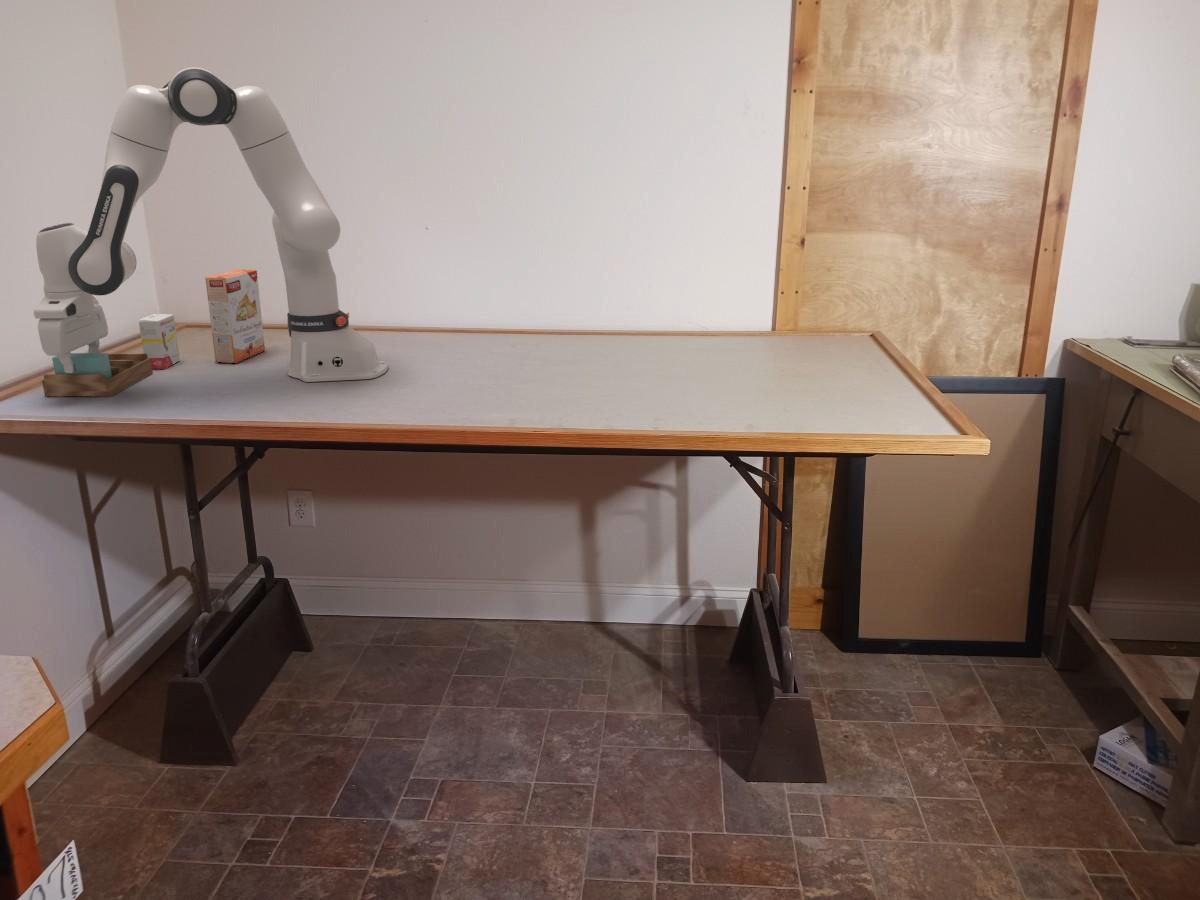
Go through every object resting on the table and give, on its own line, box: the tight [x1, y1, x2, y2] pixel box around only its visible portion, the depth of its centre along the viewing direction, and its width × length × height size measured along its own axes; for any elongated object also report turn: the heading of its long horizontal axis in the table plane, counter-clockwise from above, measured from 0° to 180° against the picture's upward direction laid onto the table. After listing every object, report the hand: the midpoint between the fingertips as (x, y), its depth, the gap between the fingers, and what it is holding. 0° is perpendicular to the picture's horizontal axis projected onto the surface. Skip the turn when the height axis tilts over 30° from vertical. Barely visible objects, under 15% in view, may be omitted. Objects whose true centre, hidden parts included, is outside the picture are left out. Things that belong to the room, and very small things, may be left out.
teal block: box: [51, 352, 112, 380], centre depth 210 cm, size 4×10×7 cm, turn 89°
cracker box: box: [204, 268, 266, 364], centre depth 238 cm, size 14×6×21 cm, turn 168°
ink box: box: [138, 313, 181, 370], centre depth 232 cm, size 9×5×12 cm, turn 177°
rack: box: [41, 352, 154, 398], centre depth 216 cm, size 14×20×5 cm
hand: (82, 366), depth 209 cm, fingers open, 8 cm apart
